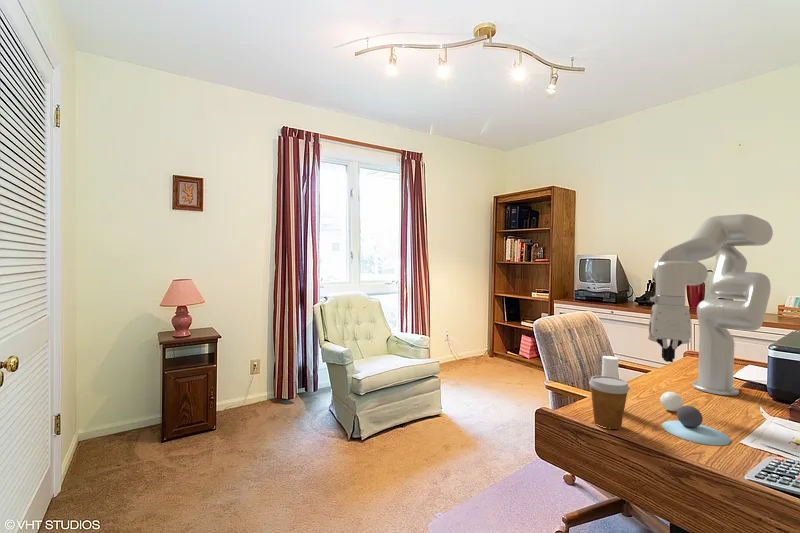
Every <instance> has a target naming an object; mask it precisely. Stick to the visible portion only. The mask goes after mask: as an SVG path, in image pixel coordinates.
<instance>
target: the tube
mask: <svg viewBox="0 0 800 533" xmlns="http://www.w3.org/2000/svg"><path fill="white" fill-rule="evenodd" d="M601 358H602V360H601V361H602V362H601V376H610V377H615V378H619V360H620V359H619V357H617V356H611V355H602V357H601Z"/></svg>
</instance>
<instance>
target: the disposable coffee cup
mask: <svg viewBox="0 0 800 533" xmlns="http://www.w3.org/2000/svg"><path fill="white" fill-rule="evenodd" d="M588 384H589V387H590V392H591V395H590V396H591V402H592V412H593V423H594V422H595V423H596V424H598V425H600V426H603V427H606V428H610V429H619V430H621V429H622V424H623V419H624V414H625V407H626V401H627V396H628V392H629V390H630V389H631V388H630V387H629V385H628V382H627V380H624V379H622V378H619V377H618V378H615V377H610V376H602V375H593V376H591V377H590V380H589V381H588ZM595 423H594V424H595ZM596 424H595V425H596ZM620 428H621V429H620Z"/></svg>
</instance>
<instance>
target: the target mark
mask: <svg viewBox="0 0 800 533" xmlns="http://www.w3.org/2000/svg"><path fill="white" fill-rule="evenodd" d="M661 426H662V429H663V430H664V431H666V432H667V433H669V434H670V435H671V436H675V437H677V438H679V439H683V440H685V441H689V442H692V443H696V444H702V445H707V446H719V447H720V446H727V445H730V443H731V438H730V437H729V436H728V435H727V434H725V433H724V432H723V431H720V430H719V429H718V430H717V429H715V428H712V427H711V426H708V425H704V424H701V425H700V426H698V427H695V428H690V427H687V426H684V425H683V424H682V423H681V422H680V421H679V420H667V421H664V422H663V423H662V425H661Z"/></svg>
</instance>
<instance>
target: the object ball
mask: <svg viewBox="0 0 800 533" xmlns="http://www.w3.org/2000/svg"><path fill="white" fill-rule="evenodd" d="M676 417H677V421H680V422H681V423H682V424H683V425H684V426H687V427H690V428H695V427H698V426H700V425H702V423H703V420H704V418H703V415H702V413H701V411H700V410H699V409H698V408H696V407H694V406H692V405H683V406H682V407H680V408H679V409H678V411H676Z"/></svg>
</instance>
